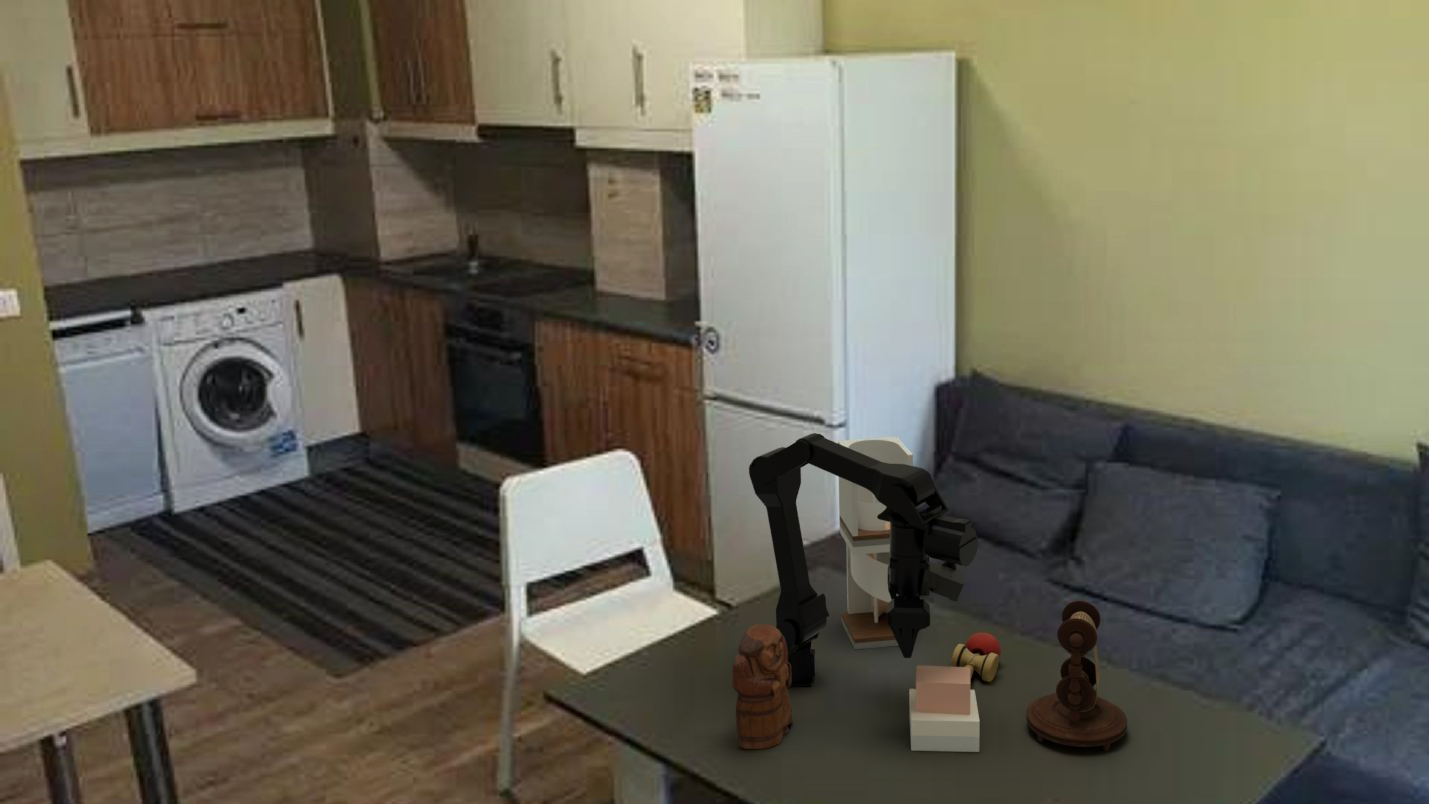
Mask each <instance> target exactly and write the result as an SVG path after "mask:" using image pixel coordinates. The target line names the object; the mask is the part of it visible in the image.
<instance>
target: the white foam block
mask: <svg viewBox="0 0 1429 804" xmlns="http://www.w3.org/2000/svg"><path fill="white" fill-rule="evenodd" d="M908 692H909V695H908V700H909V701H908V705H909V713H908V715H909V717H908V718H909V731H910V732H909V733H910V734H909V736H910V750H911V751H913V752H914V751H915V752H916V751H918V752H919V751H920V752H959V753H960V752H962V753H963V752H964V753H966V752H967V753H968V752H969V753H980V729H981V727H980V721H981V720H980V716H979V715H980V714H979V708H978V703H977V702H978V701H977V697H976V691H975V689H970V715H965V714H944V713H923V712H916V688H909V690H908Z"/></svg>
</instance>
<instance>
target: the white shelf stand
mask: <svg viewBox="0 0 1429 804" xmlns="http://www.w3.org/2000/svg"><path fill="white" fill-rule="evenodd" d="M837 443H838V444H840V445H843V446H845V447H847V448H850V449H852V450H854V451H857V452H859V453H862V454H864V455H866V456H869V457H871V458H873V459H876V460H878V461H881V462H884V463H889V464H906V465H910V466H914V454H913V453H912V452H911V451H910V450H909V449H908V447H907V446H906V445H905V444H904V443H903V442H902V440H900V439H899V437H898V436H886V437H873V438H862V439H861V438H859V439H845V440H838V441H837ZM838 506H839V507H838V508H839V509H838V510H839V517H838V518H839V534H840V535H841V536H842V538H843V540H844V542H845V545H846V546H845V547H846V550H845V551H846V555H845V556H846V595H847V596H846V598H847V599H846V602H847V609H846V610H847V611H846V612H845V611H844V612H841V615H840V616H841V617H840V618H841V625H842V627H843V629H844V631H845V633H846V635H847V637H848V639H849V641H850V642H851V643H850V644H852V646H853V649H854V650H862V649H875V648H887V647H896V646H897V647H899V645H898V643H897V641H896V639H895V636H894V634H893V632H892V630H891V628H890V627H889V625H888V603H889V602H890V601H891V600H892V599H891V596H890V594H889V591H888V566H889V565H890V522H888V521H884V520H880V519H878V518H877V515H879V514H880V513H882V512H883V511H884V510H885V509H886V506H885V505H883V504H882V503H880V502H879V501H878V500H877V499H876V497H875V496H874V495H873V493H872V492H870V491H869V490H867V489H866V488H864V487H861V486H859V485H857V484H854V483H852V482H850V481H848V480H845V479H843V478H841V477H838Z"/></svg>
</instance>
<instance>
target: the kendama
mask: <svg viewBox="0 0 1429 804" xmlns="http://www.w3.org/2000/svg"><path fill="white" fill-rule="evenodd" d="M1001 650H1002V649H1001V645H1000V642H999V641H998V640H997V638H996V637H995V636H994V635H992V634H990V633H987V632H977V633H974V634H972V635H970V637H969V638H968V639H967V640H966V642H965V644H963V643H959V644H957V645H956V647H955V648H954V651H953V653H952V657H951V659H950V660H951V661H950V667H970V681H972V680H971V679H972V677H973V674H974V672H975V671H976V673H978V674H979V676H980V678H981V679H982V681H984V682H988V683H991V682H992V681H993V680H994V678H995V676H996V674H997V670H998V669H999V664H1000V657H1001V653H1002V651H1001Z"/></svg>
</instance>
